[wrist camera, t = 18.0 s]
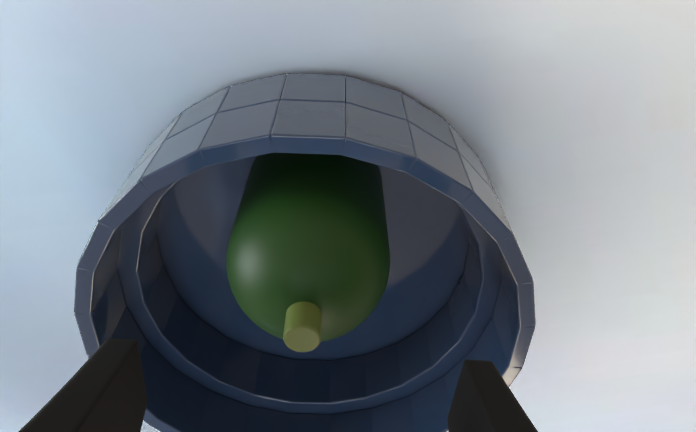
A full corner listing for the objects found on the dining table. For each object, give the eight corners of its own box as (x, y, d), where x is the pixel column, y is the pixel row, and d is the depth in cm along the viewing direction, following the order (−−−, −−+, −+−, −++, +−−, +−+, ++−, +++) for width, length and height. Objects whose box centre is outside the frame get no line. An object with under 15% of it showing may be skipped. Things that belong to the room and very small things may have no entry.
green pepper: (409, 172, 19) (439, 319, 13) (335, 262, 21) (331, 425, 15) (291, 100, 17) (263, 228, 11) (225, 205, 19) (171, 359, 13)
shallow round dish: (464, 372, 25) (489, 477, 21) (159, 364, 24) (121, 469, 20) (533, 77, 17) (592, 146, 13) (96, 59, 17) (15, 124, 13)
